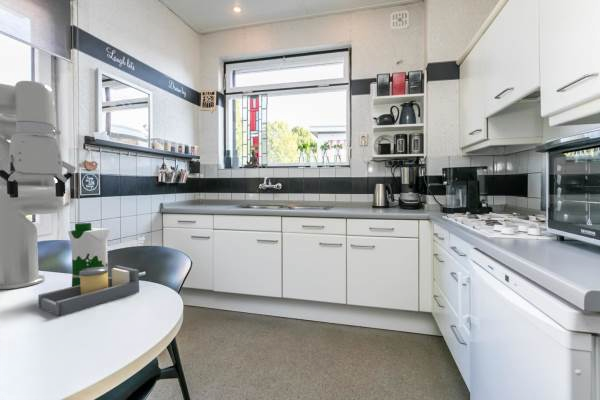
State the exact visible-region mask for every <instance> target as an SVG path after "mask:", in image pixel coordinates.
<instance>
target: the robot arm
mask: <svg viewBox="0 0 600 400" xmlns="http://www.w3.org/2000/svg"><path fill="white" fill-rule="evenodd" d="M55 107H56V106H55V101H54V92H53V89H52V88H51V87H50V86H49V85H47V84H45V83H41V82H36V81H33V80H20V81H18V82H16V83H15V85H11V84H4V83H0V290H13V289H17V288H18V289H19V288H24V287H30V286H33V285H37V284H39V283H42V282H44V281H45V279H46V278H45V277H46V276H45V275H41V274H39V247H38V244H39V243H38V229H37V226H36V225H35V223H34V222H33V221H31V220H30V219H28V218H27V216H32V215H35V216H36V215H50V214H57V213H59V212H61V211H62V210H63V207H64V196H65V194H66V182H67V181H68V180H70V178H72V177H73V174H74V173H75V171H76V167H75V166H74V165H72V164H70V163H68V162H66V161H65V160H64V161H63V159H62V153H61V148H60V143H59V140H58V138H56V136H60V135H61V131H60V130H58V129H56V126H55ZM9 141H10V142H9ZM63 168H64V169H66V172H65V173H64V174H63Z"/></svg>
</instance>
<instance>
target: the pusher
mask: <svg viewBox="0 0 600 400" xmlns="http://www.w3.org/2000/svg"><path fill="white" fill-rule="evenodd" d="M145 275H146V271H143V272H139V277H142V276H145ZM111 277H112V287H113V286H117V285H121V284H124V283H128V282H130V279H129V271H126V270H122V269H117V268H114V267H113V268H111Z"/></svg>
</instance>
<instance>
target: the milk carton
mask: <svg viewBox="0 0 600 400" xmlns="http://www.w3.org/2000/svg"><path fill="white" fill-rule="evenodd" d="M110 230H111V228H106V227H105V228H104V227H103V228H101V227H100V228H98V227H92V223H91V222H82V223H80V222H79V223H75V224H74V229H72V230H68V231H67V233H68V237H69V241H70V243H71V265H72V266H71V268H72V269H71V270H72V271H71V272H72V273H71V274H72V275H71V287H73V286H77V285H80V271H81V270H83V269H87V268H93V267H108V268H109V264H108V263H109V259H108V257H109V256H108V241H109V235H110ZM108 278H110V274H109V272H108Z"/></svg>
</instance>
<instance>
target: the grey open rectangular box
mask: <svg viewBox="0 0 600 400" xmlns="http://www.w3.org/2000/svg"><path fill="white" fill-rule="evenodd" d="M113 268H117V269H122V270H126V271H129V279H130V282H128V283H124V284H121V285H117V286H113V287H112V276H111V277H109V278H108V288H105V289H102V290H98V291H94V292H90V293H86V294H83V295H81V289H80V285H77V286H73V287H72V286H70V287H65V288H61V289H60V288H59V289H57V290H53V291H49V292H48V291H47V292H44V293H40V294H38V308H40V309H42V310H44V311H47V312H50V313H51V314H53V315H56V316H58V317H59V316H62V315H66V314H70V313H73V312H76V311H79V310H83V309H86V308H90V307H93V306H97V305H101V304H104V303H107V302H109V301H112V300H116V299H119V298H123V297H127V296H130V295H132V294H133V293H134V294H136V292H137V293H140V276H139V273H140V271H139V269H136V268H132V267H127V266H122V265H114V267H113Z"/></svg>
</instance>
